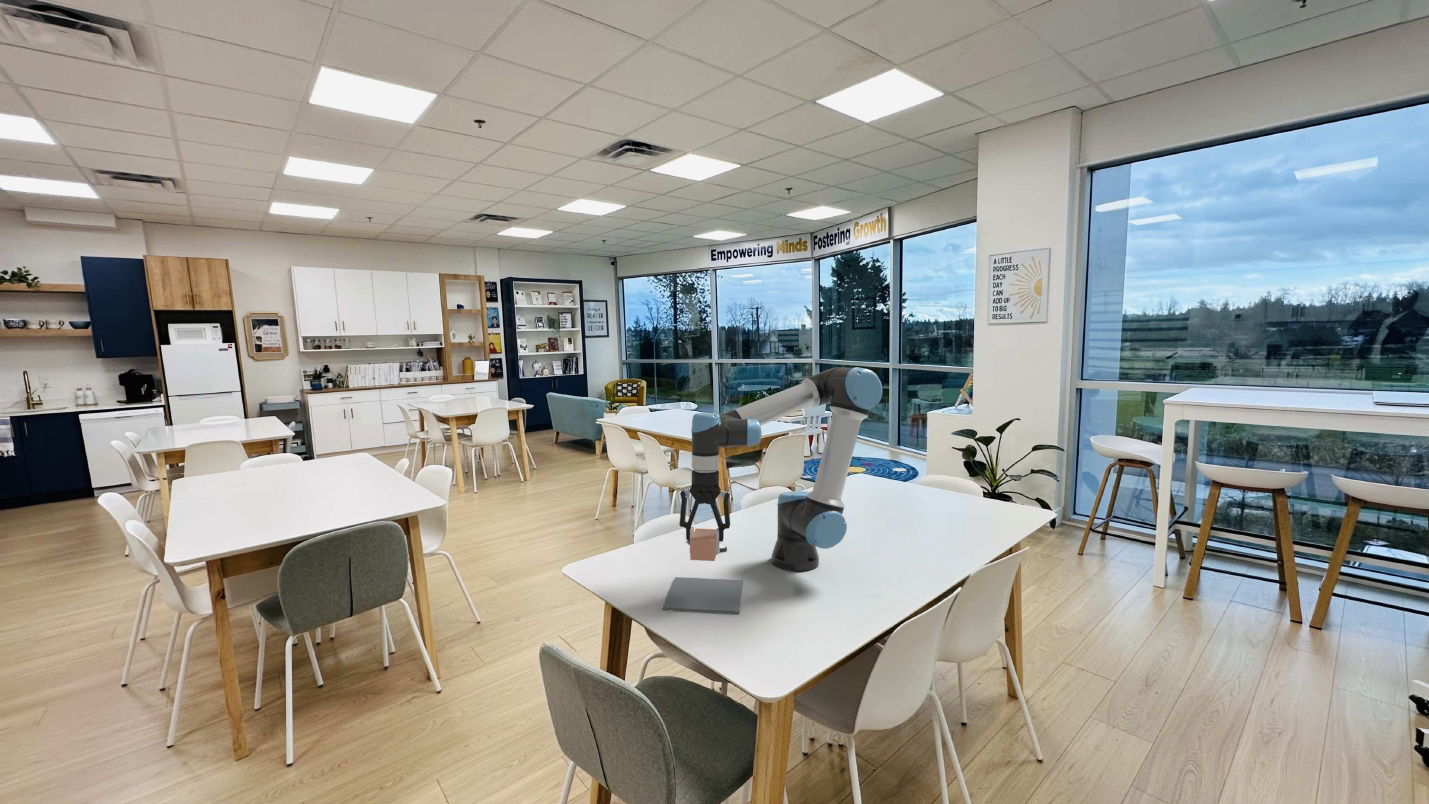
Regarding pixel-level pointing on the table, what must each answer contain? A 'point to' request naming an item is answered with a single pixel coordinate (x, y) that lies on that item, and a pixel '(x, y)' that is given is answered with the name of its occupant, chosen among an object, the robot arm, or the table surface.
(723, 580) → the mat
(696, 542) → the card box
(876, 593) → the table surface
